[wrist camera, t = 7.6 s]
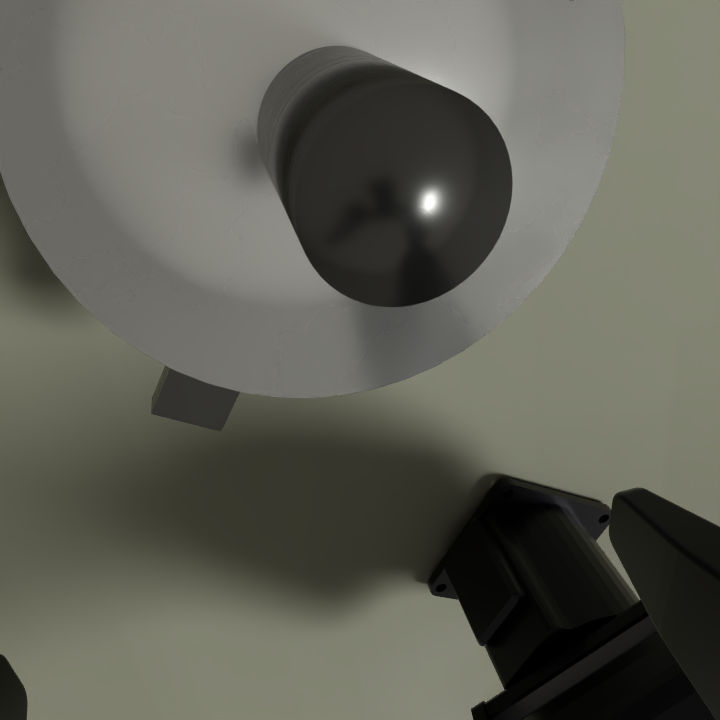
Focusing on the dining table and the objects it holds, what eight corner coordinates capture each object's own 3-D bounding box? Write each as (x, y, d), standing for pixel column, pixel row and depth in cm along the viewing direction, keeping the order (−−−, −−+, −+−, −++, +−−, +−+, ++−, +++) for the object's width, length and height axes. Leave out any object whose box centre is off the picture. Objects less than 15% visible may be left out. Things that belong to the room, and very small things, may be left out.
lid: (589, -298, 12) (947, -524, 6) (563, 298, 18) (729, 439, 13) (-127, -220, 10) (-473, -434, 5) (124, 404, 17) (101, 617, 11)
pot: (610, -119, 17) (754, -147, 13) (340, 383, 23) (377, 477, 18) (194, -467, 12) (205, -690, 8) (-12, 275, 18) (-67, 368, 14)
